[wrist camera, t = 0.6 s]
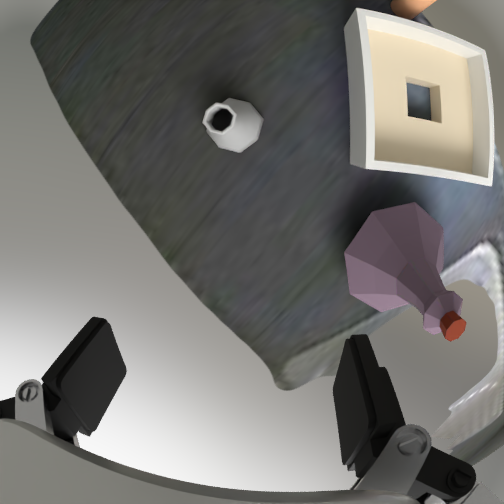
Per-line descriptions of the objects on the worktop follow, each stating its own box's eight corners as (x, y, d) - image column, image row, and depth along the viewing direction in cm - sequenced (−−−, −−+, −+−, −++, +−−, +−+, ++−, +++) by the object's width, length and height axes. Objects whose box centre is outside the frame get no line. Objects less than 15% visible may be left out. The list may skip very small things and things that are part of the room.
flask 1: (227, 89, 31) (209, 71, 22) (273, 117, 32) (272, 107, 23) (197, 133, 34) (169, 131, 25) (242, 162, 35) (229, 168, 26)
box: (343, 28, 26) (356, 7, 20) (460, 58, 24) (485, 50, 18) (349, 163, 34) (365, 168, 27) (464, 177, 32) (491, 186, 25)
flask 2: (324, 291, 41) (350, 394, 23) (349, 183, 35) (418, 227, 16) (414, 301, 40) (468, 385, 22) (444, 207, 34) (533, 258, 16)
